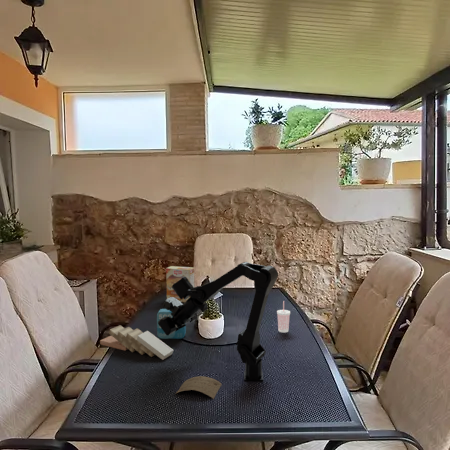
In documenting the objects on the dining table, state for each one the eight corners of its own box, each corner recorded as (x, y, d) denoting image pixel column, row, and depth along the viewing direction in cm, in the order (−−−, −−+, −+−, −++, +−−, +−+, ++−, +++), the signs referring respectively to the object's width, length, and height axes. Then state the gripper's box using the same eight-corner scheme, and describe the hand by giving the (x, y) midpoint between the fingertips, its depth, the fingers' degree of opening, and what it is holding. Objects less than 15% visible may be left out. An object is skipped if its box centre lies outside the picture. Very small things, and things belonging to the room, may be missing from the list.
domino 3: (162, 347, 157) (137, 328, 162) (153, 352, 151) (127, 333, 157) (161, 351, 157) (135, 332, 163) (151, 357, 152) (125, 337, 157)
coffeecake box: (166, 301, 229) (165, 268, 227) (171, 297, 236) (171, 265, 234) (190, 303, 224) (189, 269, 223) (194, 299, 231) (194, 267, 229)
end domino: (135, 341, 163) (110, 335, 170) (125, 346, 158) (100, 340, 165) (135, 346, 164) (110, 340, 170) (125, 351, 158) (100, 345, 165)
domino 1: (144, 343, 161) (120, 325, 167) (134, 348, 156) (109, 329, 162) (142, 347, 162) (119, 329, 167) (132, 352, 156) (108, 333, 162)
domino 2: (153, 345, 159) (128, 326, 164) (143, 350, 153) (118, 331, 159) (151, 349, 159) (127, 330, 165) (142, 354, 154) (117, 335, 160)
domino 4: (173, 350, 154) (147, 330, 160) (164, 355, 149) (137, 335, 154) (172, 354, 155) (146, 334, 160) (162, 360, 149) (136, 339, 155)
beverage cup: (285, 327, 184) (286, 298, 182) (292, 332, 178) (293, 301, 177) (274, 329, 182) (274, 299, 180) (280, 333, 176) (281, 303, 175)
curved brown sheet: (172, 396, 124) (172, 388, 124) (182, 381, 134) (182, 373, 134) (217, 401, 121) (217, 393, 121) (224, 385, 131) (224, 377, 131)
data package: (157, 338, 171) (156, 311, 170) (159, 334, 175) (158, 308, 174) (184, 338, 171) (184, 311, 170) (185, 334, 175) (185, 308, 174)
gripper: (189, 286, 156) (167, 309, 162) (161, 297, 140) (138, 323, 146) (207, 308, 153) (184, 331, 159) (180, 322, 137) (155, 347, 143)
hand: (165, 332), depth 152 cm, fingers closed
